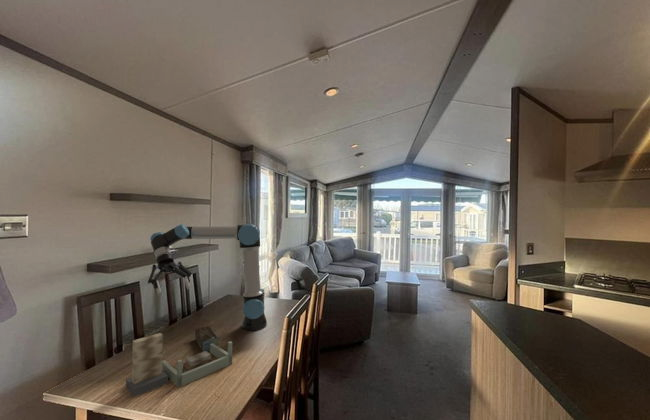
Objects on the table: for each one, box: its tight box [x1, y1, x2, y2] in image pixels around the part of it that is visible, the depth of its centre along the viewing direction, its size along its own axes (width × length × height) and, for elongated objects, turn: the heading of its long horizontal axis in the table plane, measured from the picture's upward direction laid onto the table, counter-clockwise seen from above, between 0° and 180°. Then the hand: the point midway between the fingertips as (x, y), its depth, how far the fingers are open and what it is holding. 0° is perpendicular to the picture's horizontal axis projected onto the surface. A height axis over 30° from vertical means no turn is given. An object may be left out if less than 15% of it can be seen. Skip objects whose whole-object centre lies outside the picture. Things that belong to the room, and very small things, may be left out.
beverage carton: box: [195, 325, 219, 353], centre depth 151 cm, size 8×19×7 cm, turn 34°
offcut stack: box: [182, 351, 212, 373], centre depth 125 cm, size 11×6×6 cm, turn 139°
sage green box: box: [162, 341, 233, 388], centre depth 128 cm, size 24×18×10 cm
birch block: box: [131, 332, 164, 384], centre depth 114 cm, size 10×3×16 cm, turn 139°
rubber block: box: [125, 371, 169, 398], centre depth 114 cm, size 12×10×3 cm
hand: (174, 290), depth 139 cm, fingers open, 13 cm apart
